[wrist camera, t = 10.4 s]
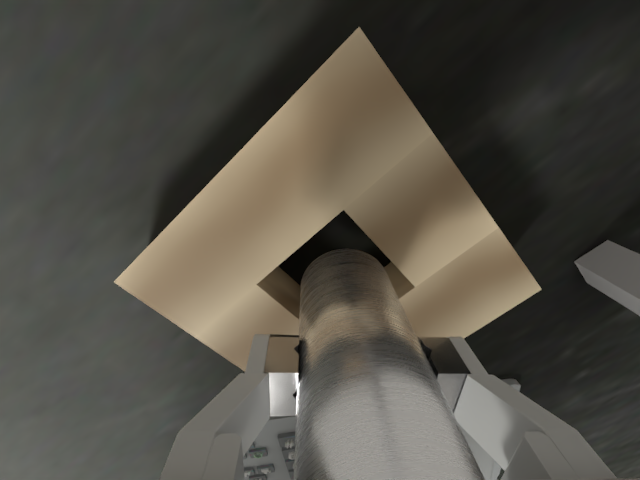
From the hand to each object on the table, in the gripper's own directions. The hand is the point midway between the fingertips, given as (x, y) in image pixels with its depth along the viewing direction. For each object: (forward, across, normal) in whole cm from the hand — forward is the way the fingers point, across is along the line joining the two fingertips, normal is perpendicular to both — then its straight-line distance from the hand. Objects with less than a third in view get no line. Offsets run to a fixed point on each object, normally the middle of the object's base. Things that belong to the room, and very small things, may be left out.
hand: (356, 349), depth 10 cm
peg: (+4, 0, 0) cm, 4 cm away
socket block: (+7, 0, 0) cm, 7 cm away
